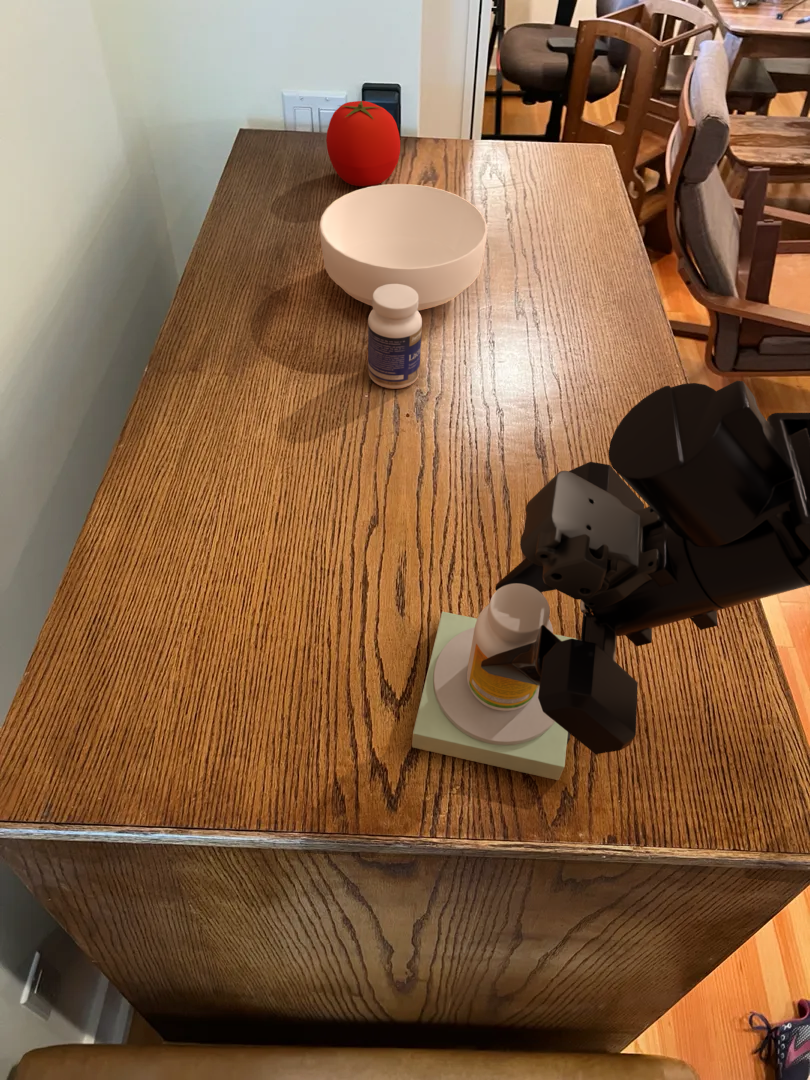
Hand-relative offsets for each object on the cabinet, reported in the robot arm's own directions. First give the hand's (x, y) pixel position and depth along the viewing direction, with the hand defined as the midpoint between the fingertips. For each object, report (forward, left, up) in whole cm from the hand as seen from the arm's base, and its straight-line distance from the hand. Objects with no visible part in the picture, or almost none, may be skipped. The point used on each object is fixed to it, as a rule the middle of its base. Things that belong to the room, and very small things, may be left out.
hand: (492, 627), depth 53 cm
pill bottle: (+16, -37, -10) cm, 41 cm away
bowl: (+19, -54, -10) cm, 58 cm away
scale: (-1, 0, -10) cm, 10 cm away
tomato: (+31, -80, -10) cm, 86 cm away
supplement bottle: (-2, 0, -7) cm, 7 cm away
